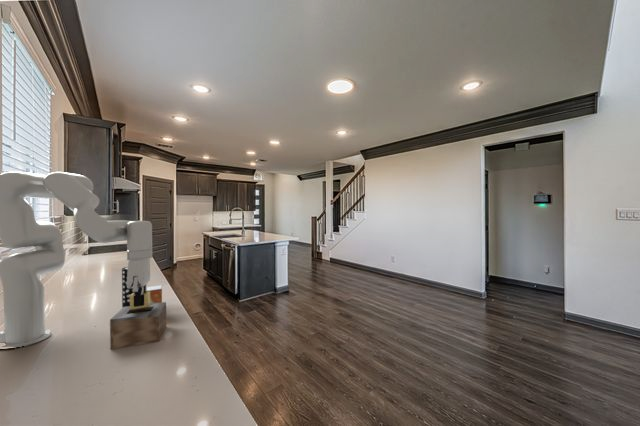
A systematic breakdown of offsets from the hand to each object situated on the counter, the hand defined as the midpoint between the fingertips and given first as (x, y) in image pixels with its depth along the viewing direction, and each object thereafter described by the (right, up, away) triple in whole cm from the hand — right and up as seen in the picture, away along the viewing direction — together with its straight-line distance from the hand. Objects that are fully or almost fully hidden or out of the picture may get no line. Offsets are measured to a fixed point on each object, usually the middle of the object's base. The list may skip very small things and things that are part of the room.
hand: (140, 304), depth 92 cm
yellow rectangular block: (0, -1, 0) cm, 1 cm away
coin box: (0, -12, 0) cm, 12 cm away
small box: (-7, -12, +17) cm, 22 cm away
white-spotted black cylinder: (-21, -12, +25) cm, 35 cm away
